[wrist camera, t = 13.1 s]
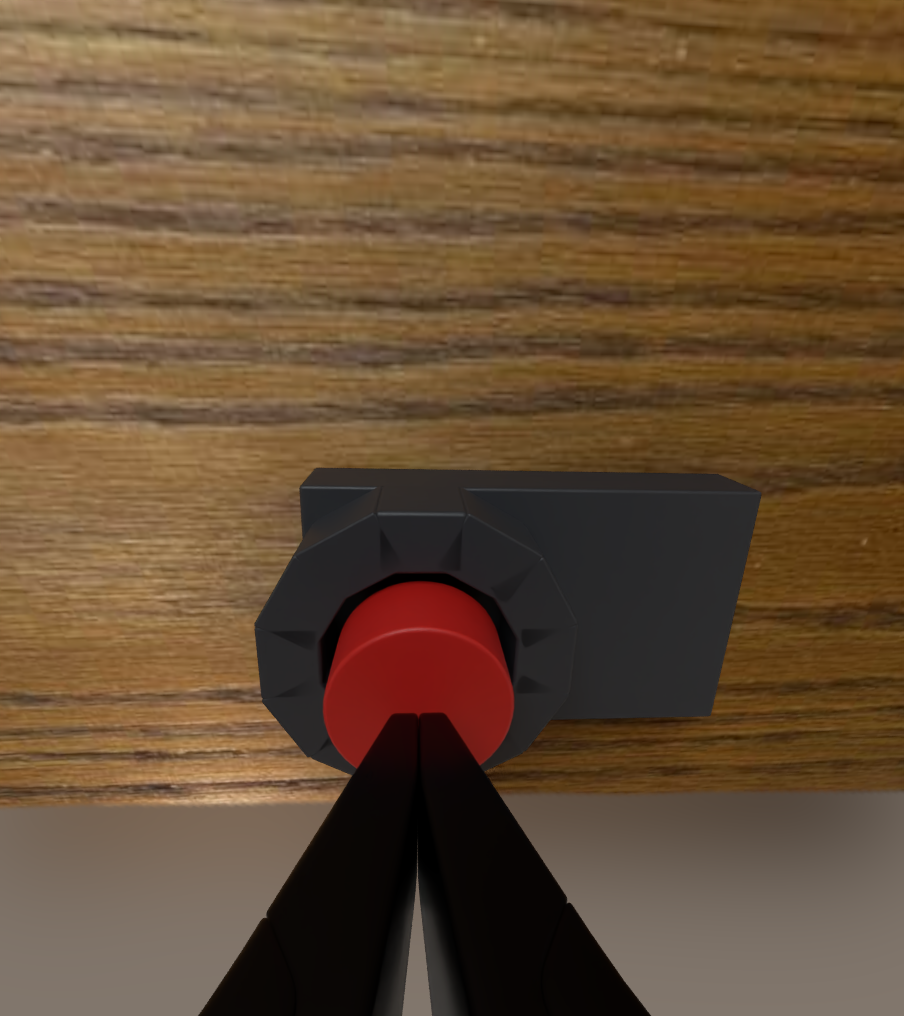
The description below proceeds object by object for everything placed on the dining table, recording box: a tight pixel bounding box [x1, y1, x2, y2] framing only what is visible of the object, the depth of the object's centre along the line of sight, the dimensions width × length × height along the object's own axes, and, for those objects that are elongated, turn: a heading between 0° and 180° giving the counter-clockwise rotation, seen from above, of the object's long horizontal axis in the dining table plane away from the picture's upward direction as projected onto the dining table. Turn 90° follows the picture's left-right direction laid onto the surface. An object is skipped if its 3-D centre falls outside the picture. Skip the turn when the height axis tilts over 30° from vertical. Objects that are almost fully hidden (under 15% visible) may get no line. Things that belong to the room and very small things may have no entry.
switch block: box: [255, 468, 761, 775], centre depth 11 cm, size 10×6×4 cm, turn 88°
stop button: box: [323, 581, 514, 769], centre depth 9 cm, size 3×3×2 cm
